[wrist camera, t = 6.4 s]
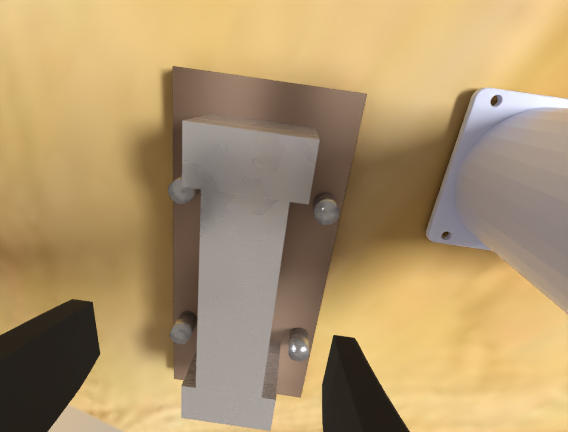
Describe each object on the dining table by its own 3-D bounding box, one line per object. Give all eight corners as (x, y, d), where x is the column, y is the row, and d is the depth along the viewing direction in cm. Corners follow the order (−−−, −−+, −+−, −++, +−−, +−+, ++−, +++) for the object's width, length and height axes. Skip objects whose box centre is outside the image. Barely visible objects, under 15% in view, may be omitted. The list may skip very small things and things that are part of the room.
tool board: (362, 93, 15) (374, 94, 13) (300, 384, 23) (300, 418, 20) (180, 67, 15) (158, 63, 13) (179, 366, 23) (165, 398, 20)
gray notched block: (315, 127, 15) (319, 139, 11) (276, 370, 21) (270, 430, 17) (212, 113, 15) (182, 120, 11) (203, 359, 21) (181, 417, 17)
